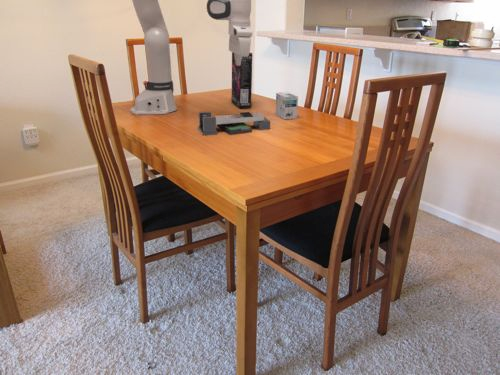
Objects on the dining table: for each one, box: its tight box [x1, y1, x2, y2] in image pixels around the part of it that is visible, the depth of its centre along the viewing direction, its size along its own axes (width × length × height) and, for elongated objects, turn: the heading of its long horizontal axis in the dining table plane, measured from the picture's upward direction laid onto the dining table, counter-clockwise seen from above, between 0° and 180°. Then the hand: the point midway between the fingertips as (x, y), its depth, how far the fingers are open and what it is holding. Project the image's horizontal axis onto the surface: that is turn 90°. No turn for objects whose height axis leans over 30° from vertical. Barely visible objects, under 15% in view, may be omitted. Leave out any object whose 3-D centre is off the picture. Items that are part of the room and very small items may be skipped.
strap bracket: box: [197, 110, 271, 136], centre depth 177 cm, size 30×11×7 cm, turn 107°
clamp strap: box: [209, 111, 265, 125], centre depth 176 cm, size 25×6×3 cm, turn 107°
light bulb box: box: [275, 91, 299, 120], centre depth 196 cm, size 11×7×11 cm, turn 22°
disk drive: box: [216, 122, 253, 136], centre depth 178 cm, size 10×3×15 cm
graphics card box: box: [231, 52, 253, 109], centre depth 213 cm, size 17×7×27 cm, turn 17°
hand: (237, 65), depth 176 cm, fingers closed
